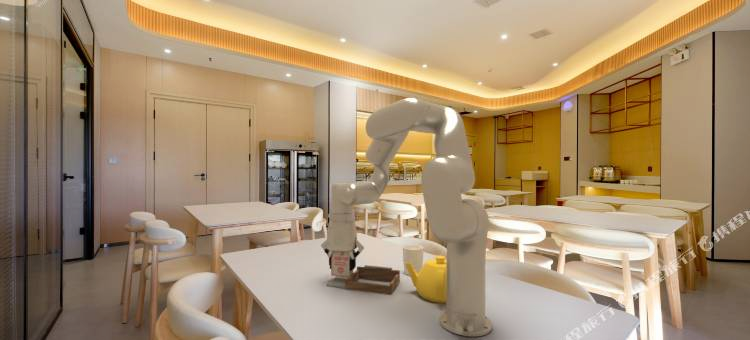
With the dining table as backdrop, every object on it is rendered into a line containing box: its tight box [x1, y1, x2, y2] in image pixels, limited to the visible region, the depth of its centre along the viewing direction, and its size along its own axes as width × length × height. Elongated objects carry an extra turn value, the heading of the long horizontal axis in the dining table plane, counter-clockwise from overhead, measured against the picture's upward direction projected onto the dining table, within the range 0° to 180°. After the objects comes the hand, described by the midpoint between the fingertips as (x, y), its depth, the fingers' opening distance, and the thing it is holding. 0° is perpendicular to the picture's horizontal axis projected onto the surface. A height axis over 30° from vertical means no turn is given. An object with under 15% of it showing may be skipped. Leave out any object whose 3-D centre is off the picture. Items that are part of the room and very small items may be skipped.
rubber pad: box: [325, 276, 348, 289], centre depth 111 cm, size 11×7×1 cm, turn 163°
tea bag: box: [330, 251, 354, 277], centre depth 111 cm, size 4×7×10 cm, turn 72°
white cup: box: [402, 244, 424, 276], centre depth 120 cm, size 8×8×10 cm
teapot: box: [406, 254, 446, 304], centre depth 100 cm, size 17×17×12 cm
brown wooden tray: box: [344, 264, 401, 296], centre depth 107 cm, size 12×16×5 cm
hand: (342, 268), depth 111 cm, fingers closed on tea bag, 6 cm apart
